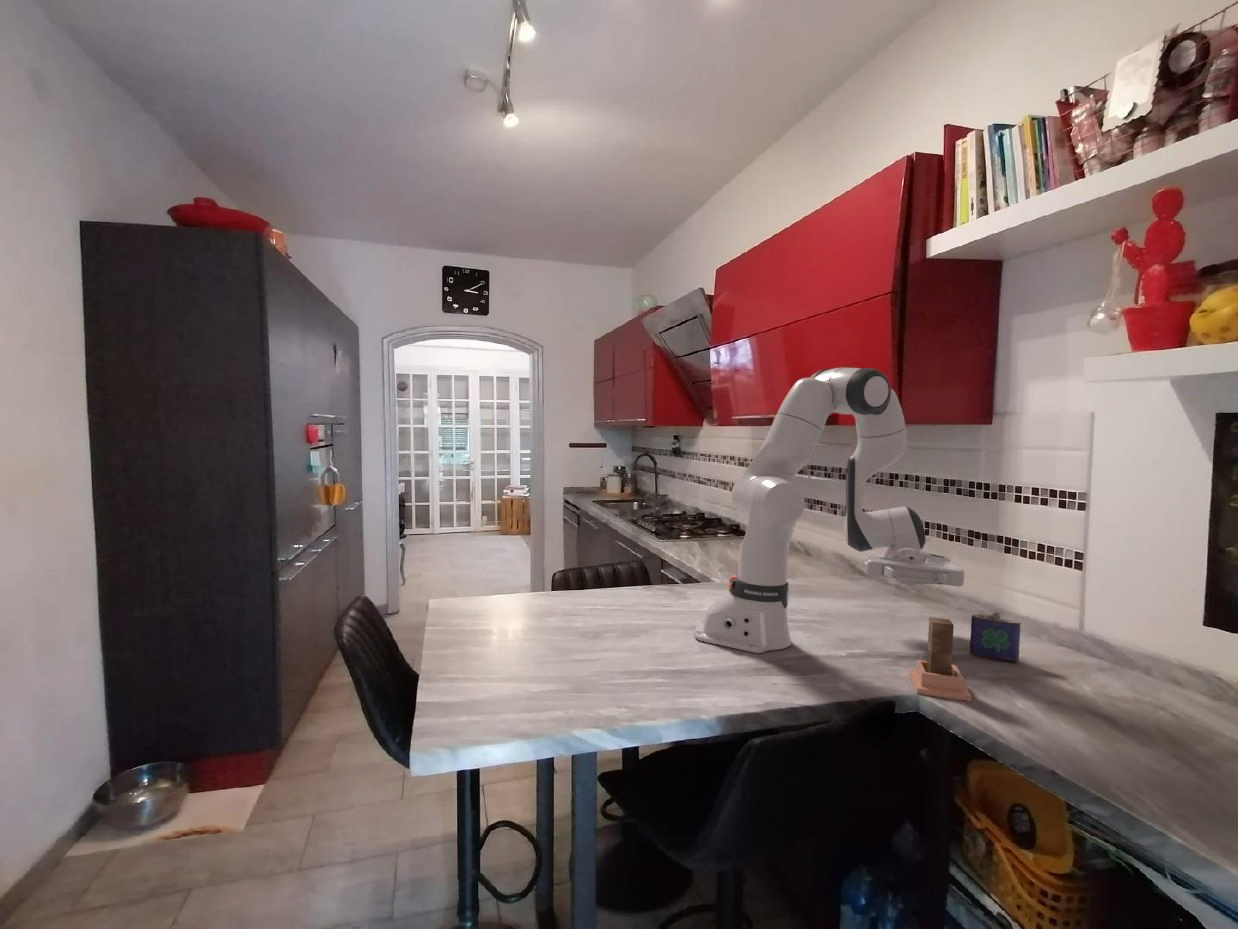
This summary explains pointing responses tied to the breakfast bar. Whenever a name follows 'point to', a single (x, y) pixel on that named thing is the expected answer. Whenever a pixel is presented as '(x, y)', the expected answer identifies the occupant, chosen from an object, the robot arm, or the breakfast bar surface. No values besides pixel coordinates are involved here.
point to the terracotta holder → (938, 682)
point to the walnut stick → (940, 646)
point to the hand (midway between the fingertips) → (918, 577)
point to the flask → (995, 638)
